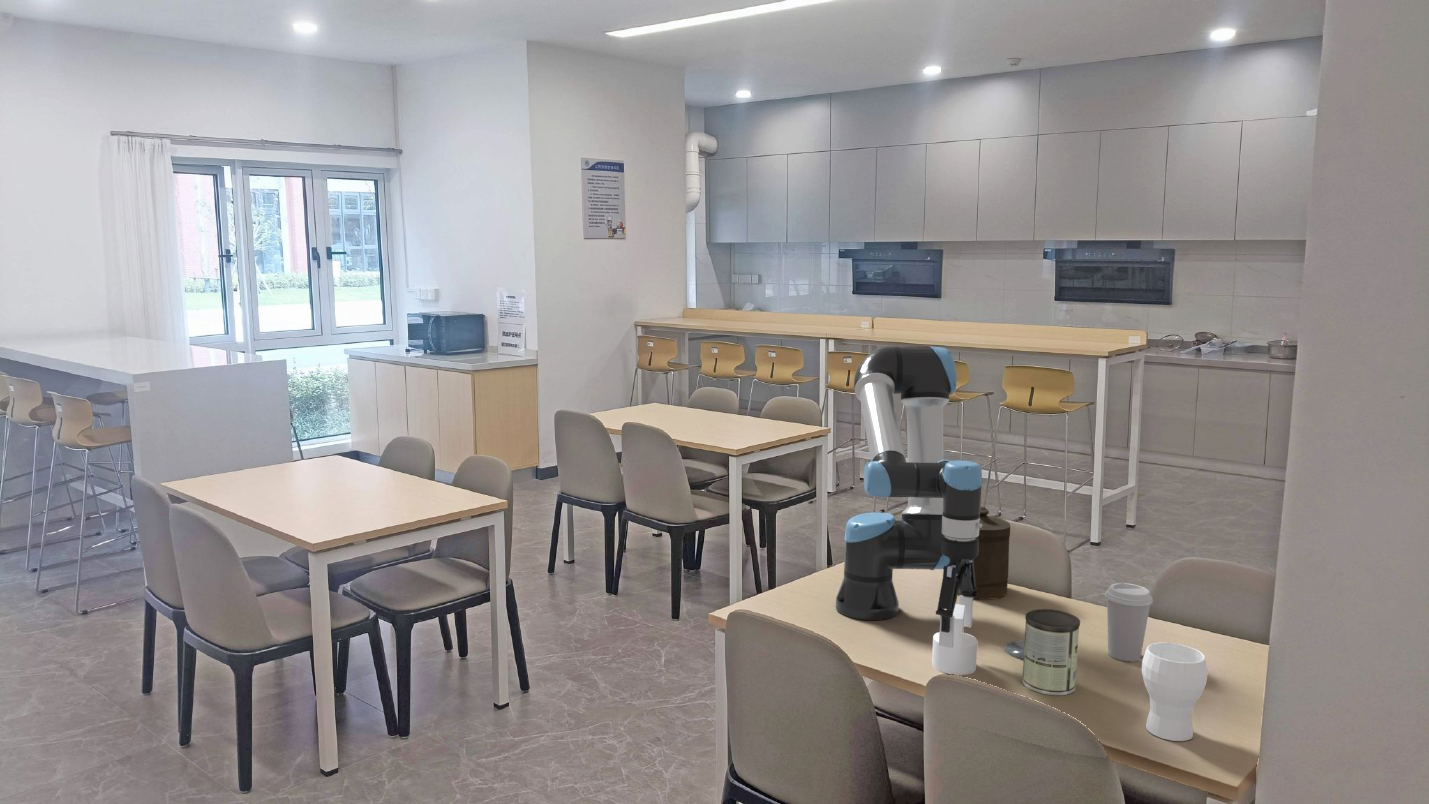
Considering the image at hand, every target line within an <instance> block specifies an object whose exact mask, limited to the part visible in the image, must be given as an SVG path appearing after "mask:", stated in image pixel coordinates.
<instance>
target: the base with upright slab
mask: <svg viewBox="0 0 1429 804" xmlns="http://www.w3.org/2000/svg"><path fill="white" fill-rule="evenodd" d="M964 615H965V605H960V604H959V603H956V604H955V608H954V612H953V616H954V639H953V648H949V647H944V646H939V632H940V631H939V632H936V633H934V634H933V636H932V655H931V656H932V659H931V666H932V667H933V668H934V669H935V670H936V671H938V672H941V673H943V674H946V673H950V674H949V675H952V674H954V675H953V676H965V675H970V674H973V673H975V672H976V670H977V658H978V657H977V655H978V639H977V638H976V637H975V636H974V635H972V634H969V633H966V632H965V627H964Z"/></svg>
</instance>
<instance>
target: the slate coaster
mask: <svg viewBox="0 0 1429 804" xmlns="http://www.w3.org/2000/svg"><path fill="white" fill-rule="evenodd" d="M1024 648H1025V640H1013V641H1010V642H1008V643H1007V644H1006V645H1005V652H1006V653H1007V654H1009V655H1010V656H1011V657H1014V658H1016V659H1019V660H1023V661H1024Z"/></svg>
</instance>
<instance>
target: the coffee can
mask: <svg viewBox="0 0 1429 804" xmlns="http://www.w3.org/2000/svg"><path fill="white" fill-rule="evenodd" d="M1024 618H1025V630H1024V631H1025V632H1024V641H1025V648H1024V660H1023V667H1022V668H1023V669H1022V680H1021V681H1022V682H1021V683H1022V684H1023V685H1024V686H1025V687H1026V688H1027V689H1029V690H1031V691H1033V692H1036V693H1038V694H1043V695H1047V696H1048V695H1049V696H1066V695H1070V694H1072V693H1074V692H1075V691H1076V689H1077V688H1076V679H1077V666H1078V665H1077V663H1078V650H1079V649H1078V648H1079V647H1078V646H1079V633H1080V626H1081V619H1080V618H1079V617H1078V616H1076V615H1074V614H1072V613H1070V612H1066V611H1062V610H1059V609H1053V608H1052V609H1051V608H1036V609H1032V610H1029V611H1027V612H1026V613H1025V617H1024Z"/></svg>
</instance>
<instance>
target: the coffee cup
mask: <svg viewBox="0 0 1429 804" xmlns="http://www.w3.org/2000/svg"><path fill="white" fill-rule="evenodd" d="M1104 597H1105V598H1106V605H1107V606H1106V607H1107V609H1106V611H1107V614H1106V615H1107V652H1108V653H1107V654H1108V656H1109V657H1111V658H1113V659H1115V660H1118V661H1121V662H1128V661H1129V662H1130V663H1131V662H1132V663H1133V662H1138V661H1140V660H1141V658H1142V657H1141V656H1142V651H1143V648H1144V647H1143V646H1144V639H1145V634H1146V629H1147V624H1148V619H1149V612H1150V607H1151V605H1152V604H1153V603H1154V599H1153V596H1152V595H1151V592H1150V590H1149V589H1148V588H1146V587H1144V586H1141V585H1138V584H1133V583H1126V582H1125V583H1124V582H1117V583H1112V584H1110V585H1109V586H1108V589H1106V591H1105V593H1104Z"/></svg>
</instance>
